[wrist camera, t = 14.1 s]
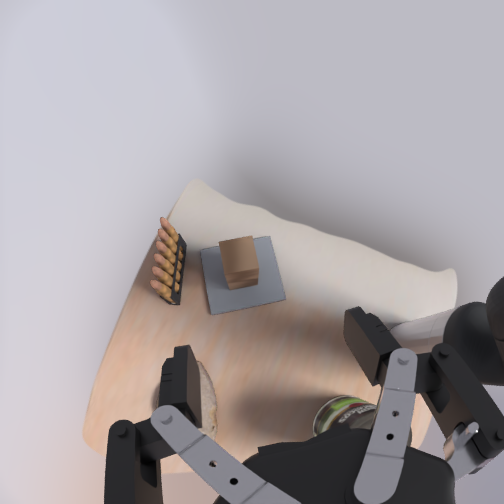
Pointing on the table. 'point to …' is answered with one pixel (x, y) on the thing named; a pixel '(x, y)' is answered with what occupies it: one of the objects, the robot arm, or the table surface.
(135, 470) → the robot arm
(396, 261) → the table surface
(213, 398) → the rock
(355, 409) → the coffee can
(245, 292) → the slate mat
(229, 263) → the walnut block
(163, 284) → the ammunition clip
